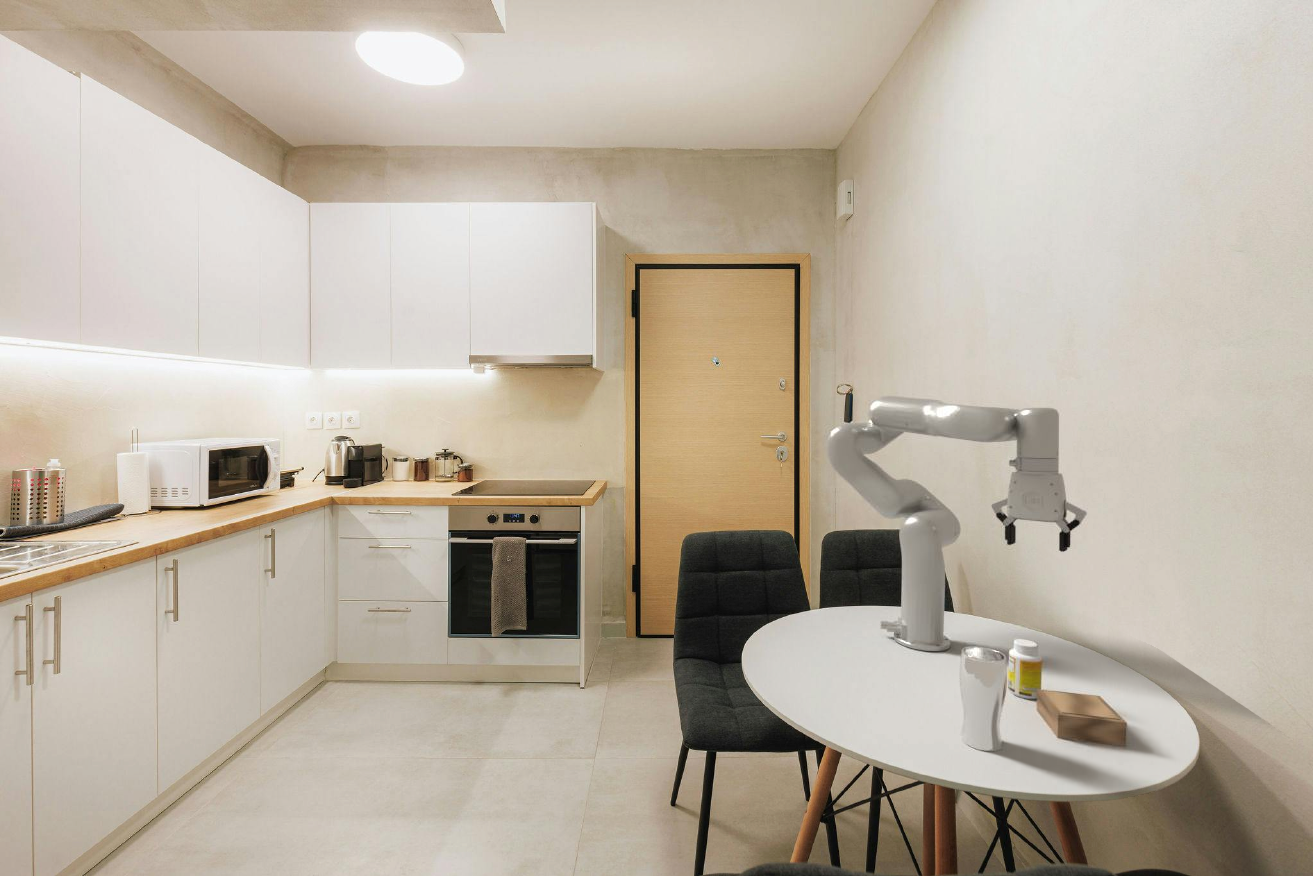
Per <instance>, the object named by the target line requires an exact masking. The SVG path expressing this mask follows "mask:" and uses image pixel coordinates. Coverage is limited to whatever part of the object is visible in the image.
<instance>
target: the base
mask: <svg viewBox="0 0 1313 876" xmlns="http://www.w3.org/2000/svg"><path fill="white" fill-rule="evenodd" d="M1036 711H1037V712H1038V714H1039V715H1040V717H1041V718H1042V719H1043V721H1044V722H1045V723H1046V725H1047V726H1048V727H1049V728H1050V729H1051V730H1050V731H1052V732H1053V734H1054V735H1055V736H1056V738H1058V739H1065V740H1074V741H1081V742H1089V743H1096V744H1103V745H1104V744H1105V745H1111V746H1120V747H1126V746H1127V732H1128V731H1127V729H1128V728H1127V727H1128V726H1127V724H1128V722H1127V721H1126V720H1125V719H1124V718H1123V717H1122V716H1121V715H1120V714H1118V712H1116V710H1115V709H1114V708H1112V706H1110V705H1109V703H1107V702H1106V701H1105V700H1104V698H1102V697H1101V696H1100V695H1095V694H1094V695H1093V694H1087V693H1076V692H1067V691H1061V690H1060V691H1057V690H1048V689H1042V688H1041V689H1037V699H1036Z"/></svg>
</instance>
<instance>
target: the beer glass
mask: <svg viewBox="0 0 1313 876" xmlns="http://www.w3.org/2000/svg"><path fill="white" fill-rule="evenodd" d="M1007 671H1008V669H1007V656H1006V655H1005V654H1004V653H1002V652H1001V651H998V650H996V649H992V648H989V647H986V646H975V645H972V646H965V647H962V649H961V655H960V663H959V687H960V688H959V689H960V696H961V702H962V709H963V723H962V727H961V732H960V740H961V741H962V742H963V743H965V745H967V746H968V747H970V748H973V749H975V750H979V751H981V752H997V751H999V750H1001V749H1002V746H1003V745H1002V743H1003V742H1002V738H1001V737H1002V736H1001V731H1000V727H1001V726H1000V725H1001V717H1002V713H1003V708H1004V705H1005V699H1006V696H1007V688H1008V672H1007Z"/></svg>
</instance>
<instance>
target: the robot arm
mask: <svg viewBox="0 0 1313 876" xmlns="http://www.w3.org/2000/svg"><path fill="white" fill-rule="evenodd" d="M867 414H868V419H869V420H867V421H866V422H847V423H842V424H840V425H837V426H836V427H834V428H833V429H832V430H831V431H830V432H829V435H828V436H827V437H828V438H827V441H826V453H827V457H828V460H829V462H830V464H831V467H833V469H834V471H836V472H837V474H839V476H840V477H841V478H842V479H843V480H844V481H845V482H846V483H848V484H849V485H850V486H851V487H852V488H853V489H854V490H855V491H856V492H857V493H858V494H859V495H860V496H861V497H862V498H863V499H864V501H866V502H867V503H868V504H869V505H870V506H871V507H872V508H873V509H874V510H876V512H877V513H878V514H879V515H881V516H882V517H883V518H885V519H886V518H887V519H889V520H890V519H891V520H893V519H900V518H904V520H903V521H902V523H901V525H900V528H899V532H898V533H899V536H898V537H899V544H900V545H899V546H900V552H901V596H900V598H901V599H900V600H901V603H900V617H898V618H897V620H893V622H892V621H886V620H880V624H879V627H880V628H879V629H880V630H886V633H887V632H888V633H893V640H894V641H896V643H898V644H899V645H901V646H904V647H906V648H910V649H913V650H914V649H915V650H917V651H918V650H919V651H925V652H941V651H946V650H948V649H950V647H951V639H949V637H948V636H946V635H945V634H944V632H945V630H944V629H945V627H944V624H945V598H946V596H945V594H946V593H945V591H946V567H945V566H946V564H945V559H944V554H943V548H945V547H948V546H950V545H953V544H954V543H955V542H956V541H957V540H958V539H959V537H960V535H961V531H962V530H961V524H960V521H959V519H958V517H957V516H956V515H955V513H954V512H952V510H951V509H949V508H948V507H947V505H945V504H944V503H942V501H941V500H939V499H938V498H937V497H936V496H935V495H934V494H933V493H932V492H930V491H929V490H928V489H927V488H925V486H923V484H920V483H918V482H917V481H915V480H912V479H907V478H905V479H904V478H903V479H902V478H901V479H896V478H893V477H892V476H891V475H889V474H888V473H887V472H886V471H884V469H883V468H882V467H881V466H880V465H879V464H878V463H876V462H874V461H873V460H871V459H869V458H868V457H867V456H865V455H871V454H875V453H877V452H878V451H880V450H882V449H883V448H885V447H887V446H888V445H889V444H890V443H891V442H893V441H895V440H896V439H897V438H899V437H900V436H902V435H903V434H904V433H911V434H917V435H925V436H932V437H940V438H941V437H942V438H949V439H956V440H963V441H971V442H972V441H973V442H979V443H1004V442H1012V441H1016V457H1015V458H1014V459H1010V460H1009V461H1008V465H1009V466H1010V467H1014V468H1015V470H1016V471H1013V472H1011V475H1010V480H1009V485H1008V493H1007V498H1005V499H1002V500H1000V501H997V502H995V503H992V504H991V508H992V510H993V512H994V514H995V516H996V518H997V519H998V520H999V521H1000V522H1001V523H1002V525H1003V526H1004V540H1005V541H1006V544H1007V545H1008V546H1011V545H1014V544H1016V542H1017V541H1016V537H1017V536H1016V535H1017V534H1016V533H1017V529H1016V525H1015V524H1014V523H1015V522H1016V521H1017V520H1022V521H1031V522H1032V521H1033V522H1040V523H1041V522H1042V523H1055V524H1056V525H1057V526H1058V527H1059V528H1060V532H1059V533H1058V535H1059V536H1058V538H1059V539H1058V540H1059V541H1058V545H1059V546H1058V547H1059V548H1058V550H1059V552H1062V553H1064V552H1066V551H1068V548H1069V549H1070V547H1071V531H1073V530H1074V529H1075V528H1077V527H1079V526H1080V525H1081V524H1082V522H1083V520H1084V519H1085V518H1086V516H1087V514H1088V513H1087V511H1086V510H1085V509H1082V508H1080V507H1078V506H1076V505H1074V504H1072V503H1070V502H1069V501H1067V494H1066V486H1065V480H1064V477H1063V473H1060V472H1059V471H1060V470H1059V469H1060V468H1059V467H1060V465H1059V464H1060V463H1059V462H1060V461H1059V459H1060V456H1059V455H1060V454H1059V453H1060V451H1059V450H1060V449H1059V448H1060V414H1059V411H1058V410H1057V409H1056V408H1053V407H1027V408H1022V409H1015V408H1008V407H998V406H997V407H995V406H994V407H989V406H978V405H977V406H974V405H964V404H963V405H962V404H953V403H947V402H943V401H942V400H938V399H928V398H916V397H905V396H893V395H885V396H880V397H877V398H875V400H873V401H872V402H871V403H870V405H869V408H868V413H867ZM1005 506H1006V510H1007V511H1006V513H1007V515H1006V514H1005V513H1004V511H1003V509H1002V507H1005ZM1068 511H1069V512H1070V513H1073V514H1074V515H1075V517H1074V518H1073V520H1071V522H1069V521H1068V520H1067V519H1066V518H1067V515H1068V514H1067V513H1068Z"/></svg>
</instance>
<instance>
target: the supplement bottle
mask: <svg viewBox="0 0 1313 876" xmlns="http://www.w3.org/2000/svg"><path fill="white" fill-rule="evenodd" d="M1042 669H1043V658H1042V655H1041V654H1040V653H1039V652H1038V644H1037V643H1036V642H1034V641H1032V640H1029V639H1023V638H1016V639H1015V640H1014V641H1013V648H1011V649H1009V651H1008V672H1007V688H1008V691H1009V692H1010V693H1011V694H1012V695H1014V696H1016V697H1018V698H1023V699H1027V700H1037V689H1042V672H1043V670H1042Z"/></svg>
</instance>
